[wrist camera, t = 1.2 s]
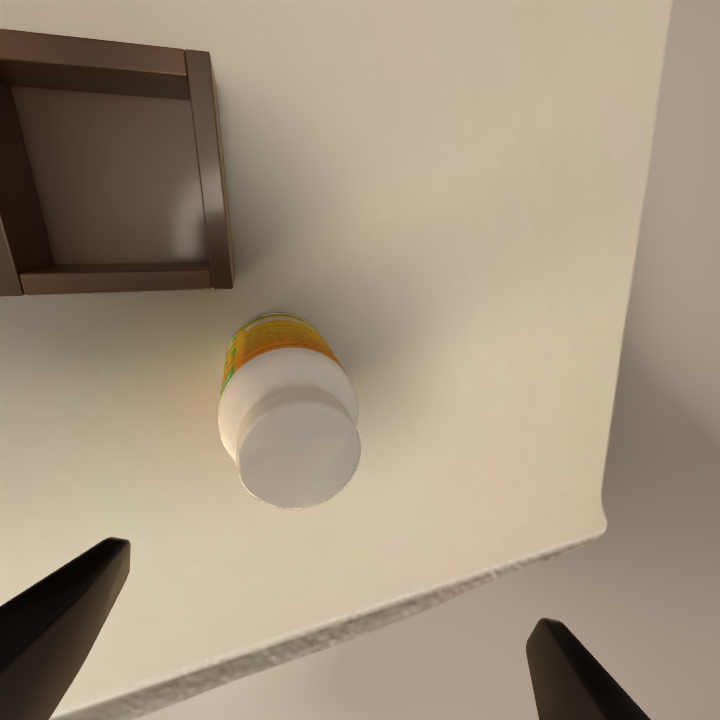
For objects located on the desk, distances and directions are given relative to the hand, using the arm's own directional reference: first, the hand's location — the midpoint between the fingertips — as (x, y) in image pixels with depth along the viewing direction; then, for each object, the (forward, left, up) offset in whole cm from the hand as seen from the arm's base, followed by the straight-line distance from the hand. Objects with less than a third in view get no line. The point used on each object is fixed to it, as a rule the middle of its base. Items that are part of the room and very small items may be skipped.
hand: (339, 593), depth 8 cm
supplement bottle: (0, 0, -15) cm, 15 cm away
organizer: (-10, +9, -14) cm, 19 cm away
